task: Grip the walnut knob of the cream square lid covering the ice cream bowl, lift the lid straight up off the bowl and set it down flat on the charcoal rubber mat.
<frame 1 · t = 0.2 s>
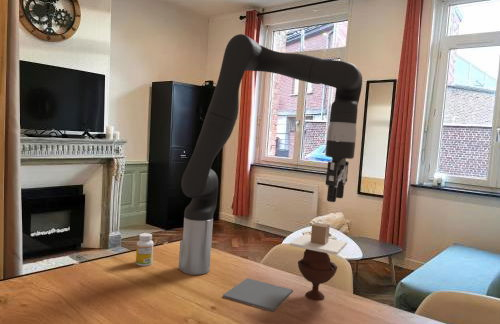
hand: (335, 199, 101), 29 cm above the table, tool pointing down, fingers open, 8 cm apart
mat: (258, 294, 105), on the table
supplement bottle: (144, 263, 123), on the table
lid: (319, 245, 105), point 15 cm above the table, touching ice cream bowl
ice cream bowl: (314, 297, 106), on the table, touching lid
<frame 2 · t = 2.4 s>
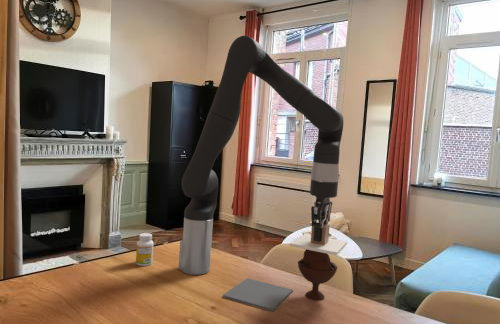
hand: (319, 239, 105), 17 cm above the table, tool pointing down, fingers closed on lid, 4 cm apart
lid: (319, 245, 105), point 15 cm above the table, touching gripper, ice cream bowl
everything else where it was.
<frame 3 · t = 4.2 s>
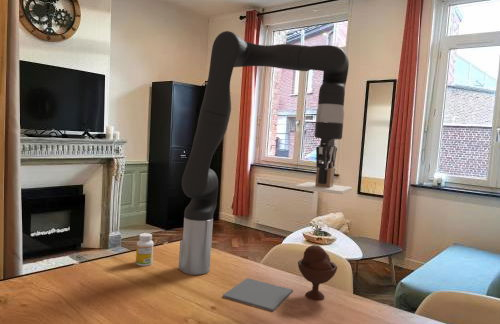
hand: (324, 182, 104), 33 cm above the table, tool pointing down, fingers closed on lid, 4 cm apart
lid: (324, 189, 104), point 31 cm above the table, touching gripper
ice cream bowl: (314, 297, 106), on the table
everything else where it was.
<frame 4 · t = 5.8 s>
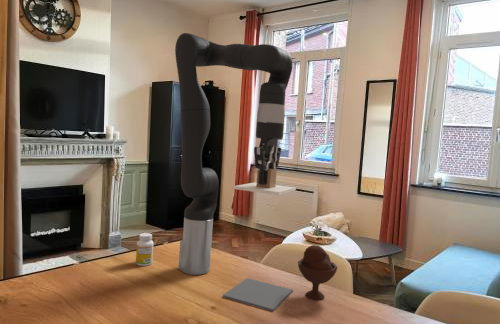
hand: (265, 183, 103), 32 cm above the table, tool pointing down, fingers closed on lid, 4 cm apart
lid: (265, 189, 103), point 30 cm above the table, touching gripper
everything else where it was.
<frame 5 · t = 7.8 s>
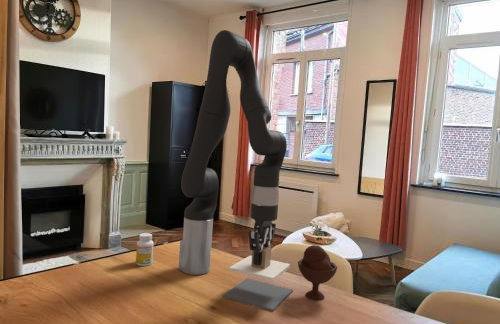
hand: (260, 262, 104), 9 cm above the table, tool pointing down, fingers closed on lid, 4 cm apart
lid: (260, 268, 104), point 8 cm above the table, touching gripper
everything else where it was.
when the fingers open (4 cm above the table, at t = 9.5 s): lid drops 1 cm, resting on mat.
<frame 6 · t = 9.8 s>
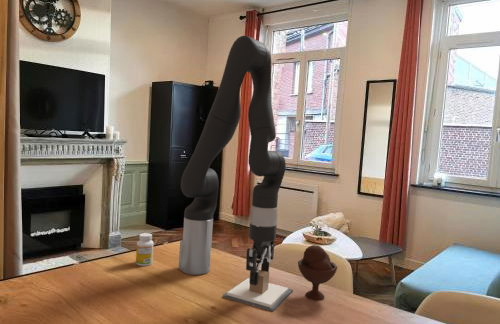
hand: (259, 280, 104), 4 cm above the table, tool pointing down, fingers open, 7 cm apart
lid: (258, 292, 104), point 1 cm above the table, touching mat
everything else where it was.
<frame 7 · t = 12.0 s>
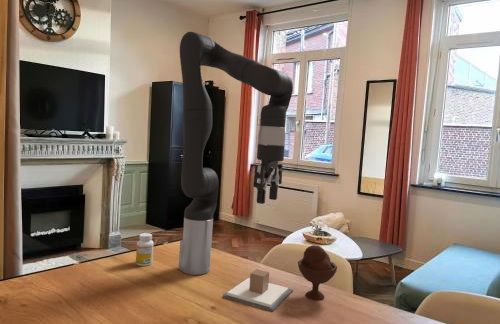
hand: (266, 201, 104), 27 cm above the table, tool pointing down, fingers open, 8 cm apart
nothing on the table moved.
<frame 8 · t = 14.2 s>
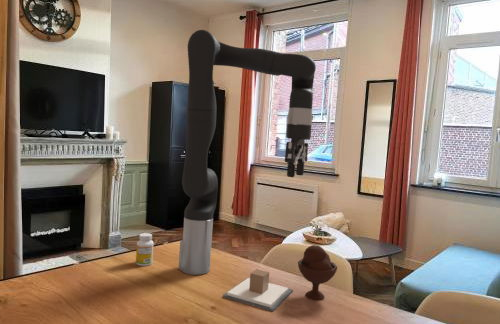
hand: (295, 176, 115), 33 cm above the table, tool pointing down, fingers open, 8 cm apart
nothing on the table moved.
at the end: lid inside the target area on the mat (0.5 cm from its centre), point 0.6 cm above the mat's base; the gripper is holding nothing; ice cream bowl moved 0.2 cm from its start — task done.
